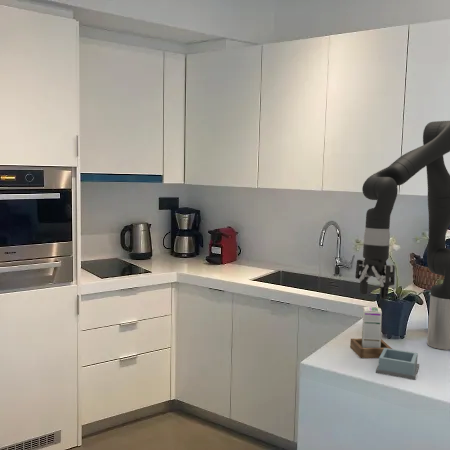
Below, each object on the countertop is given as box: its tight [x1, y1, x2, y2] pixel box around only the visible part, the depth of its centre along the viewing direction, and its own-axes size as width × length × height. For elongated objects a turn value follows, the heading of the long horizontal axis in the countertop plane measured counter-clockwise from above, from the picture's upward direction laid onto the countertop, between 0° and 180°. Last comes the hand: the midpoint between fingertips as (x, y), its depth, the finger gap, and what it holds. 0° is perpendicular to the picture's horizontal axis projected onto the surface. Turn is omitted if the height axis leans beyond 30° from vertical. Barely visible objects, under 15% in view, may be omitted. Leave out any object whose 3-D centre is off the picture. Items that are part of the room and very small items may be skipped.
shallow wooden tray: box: [349, 337, 393, 359], centre depth 179 cm, size 10×10×3 cm
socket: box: [375, 348, 420, 381], centre depth 164 cm, size 11×11×4 cm
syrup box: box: [361, 306, 383, 348], centre depth 178 cm, size 6×6×14 cm
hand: (373, 296), depth 167 cm, fingers open, 8 cm apart
